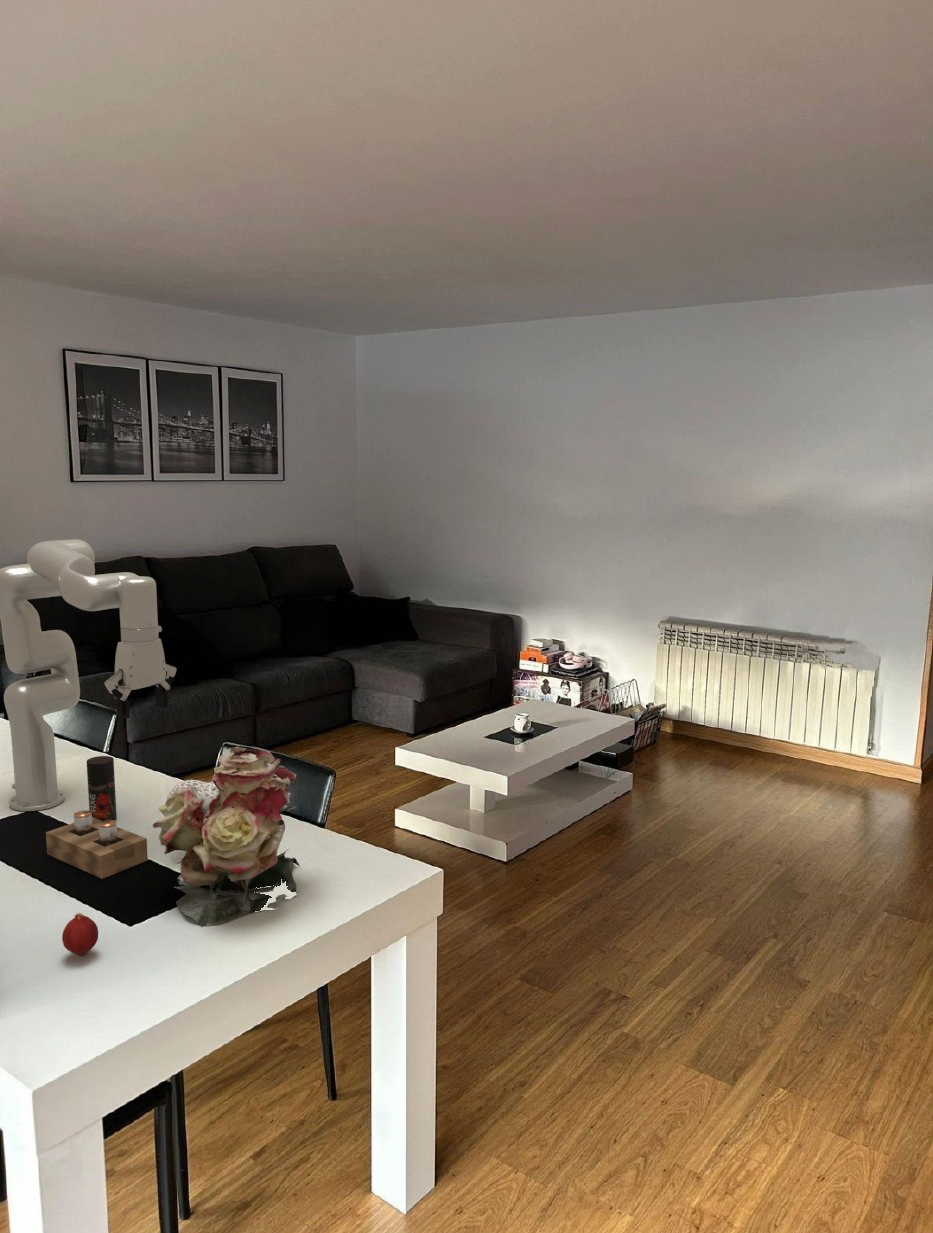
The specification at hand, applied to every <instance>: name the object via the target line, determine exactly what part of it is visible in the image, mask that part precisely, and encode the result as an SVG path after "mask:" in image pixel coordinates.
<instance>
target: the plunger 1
mask: <svg viewBox="0 0 933 1233" xmlns="http://www.w3.org/2000/svg"><path fill="white" fill-rule="evenodd" d="M73 823H74V828H75V834H76V835H78V836H83V835H86V834H88V833H91V832H93V829H92V813H91V811H89V810H88V809H87V810H79V811H77V812H76V811H75V813H73Z"/></svg>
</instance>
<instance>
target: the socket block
mask: <svg viewBox="0 0 933 1233" xmlns="http://www.w3.org/2000/svg"><path fill="white" fill-rule="evenodd" d="M100 822H102V821H101V820H98V819H96V818H93V817H92V829H93V832H91V833H88V834H86V835H83V836H78V835H76V834H75V828H74V822H72V823H70V824H66V825H64V826H60V827H58V828H55V829H52V830H49V831H45V842H46V843H45V844H46V854H47V855H48V856H50V857H53V858H55V859H57V860H59V861H62V862H64V863H66V864H68V865H71V866H73V867H75V868H77V869H79V870H82V871H84V872H86V873H88V874H90V875H93V876H94V877H97V878H99V879H102V880H103V879H106V878H108V877H111V876H113V875H116V874H118V873H120V872H123V871H125V870H127V869H130V868H133V867H135V866H137V865H138V866H139V865H140V864H141V863H145V862H147V861H149V858H148V855H149V854H148V838H147V837H144V836H142V835H139V834H136V833H133V832H131V831H129V830H126V829H124V828H121V827H119V826H117V839H118V842H117V843H114V844H112V845H109V846H106V847H104V846H102V845H100V843H99V823H100Z"/></svg>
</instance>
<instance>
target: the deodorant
mask: <svg viewBox="0 0 933 1233" xmlns="http://www.w3.org/2000/svg"><path fill="white" fill-rule="evenodd" d="M114 760H115V759H114V757H112V756H110V755H100V756H94V757H90V758H88V759H87V760H86V772H87V773H86V776H87V791H88V792H87V793H88V809H89V810H88V811H91V813H92V817H93V818H96V819H98V820H101V821H106V820H114V821H116V822H117V819H118V818H117V817H118V816H117V801H116V795H117V794H116V783H115V782H116V780H115V779H116V778H115V761H114Z"/></svg>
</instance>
